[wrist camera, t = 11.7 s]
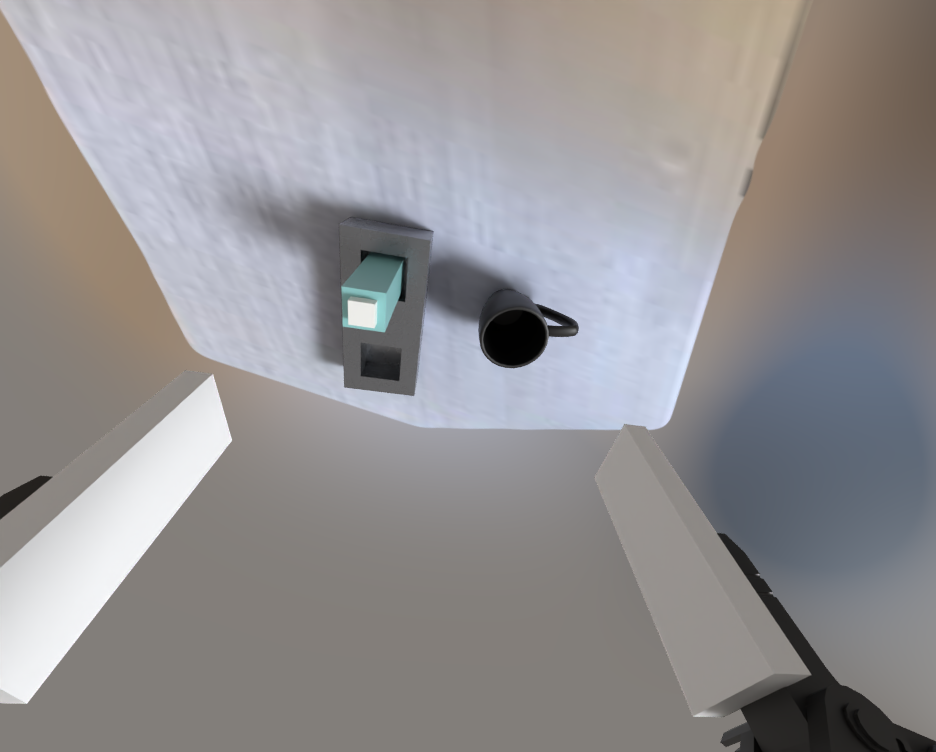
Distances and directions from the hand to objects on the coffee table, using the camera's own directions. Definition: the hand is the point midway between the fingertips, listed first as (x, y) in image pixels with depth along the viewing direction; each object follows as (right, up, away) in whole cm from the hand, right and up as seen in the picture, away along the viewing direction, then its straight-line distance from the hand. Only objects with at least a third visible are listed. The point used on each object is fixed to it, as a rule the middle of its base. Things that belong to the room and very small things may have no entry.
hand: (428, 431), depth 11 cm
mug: (+8, +12, +37) cm, 40 cm away
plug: (-9, +16, +32) cm, 37 cm away
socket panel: (-10, +11, +36) cm, 39 cm away
